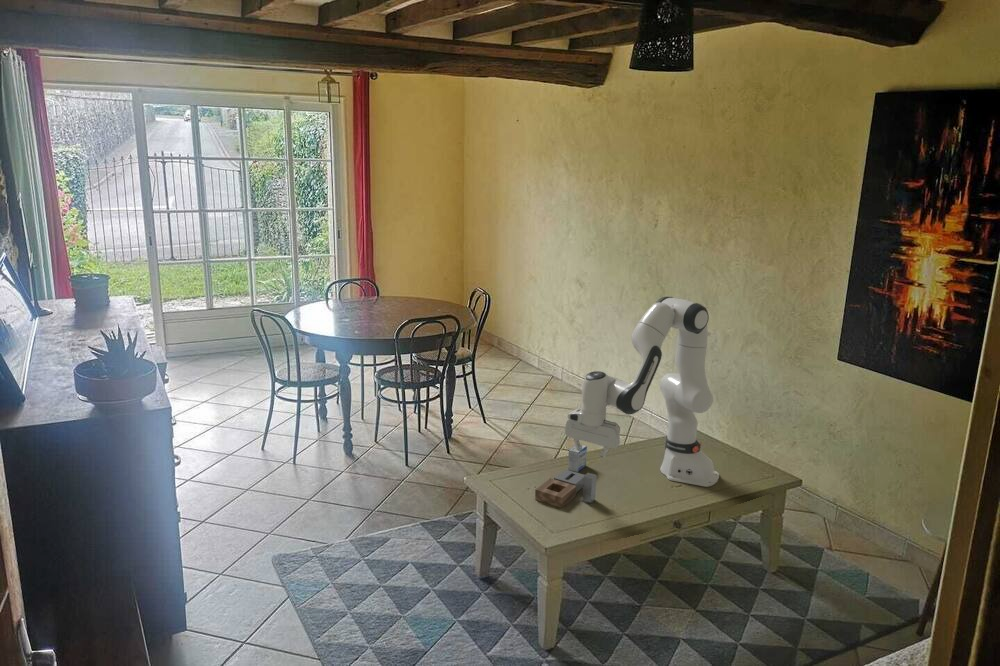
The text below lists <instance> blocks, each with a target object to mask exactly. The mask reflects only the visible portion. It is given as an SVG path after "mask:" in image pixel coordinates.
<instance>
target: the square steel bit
mask: <svg viewBox="0 0 1000 666" xmlns="http://www.w3.org/2000/svg"><path fill="white" fill-rule="evenodd" d="M596 484H597V474H594V473H590V472H587V473H585V474H584V480H583V487H582V502H584V503H587V504H592V503H593V502H594V501H596V489H597V488H596V486H597V485H596Z"/></svg>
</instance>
